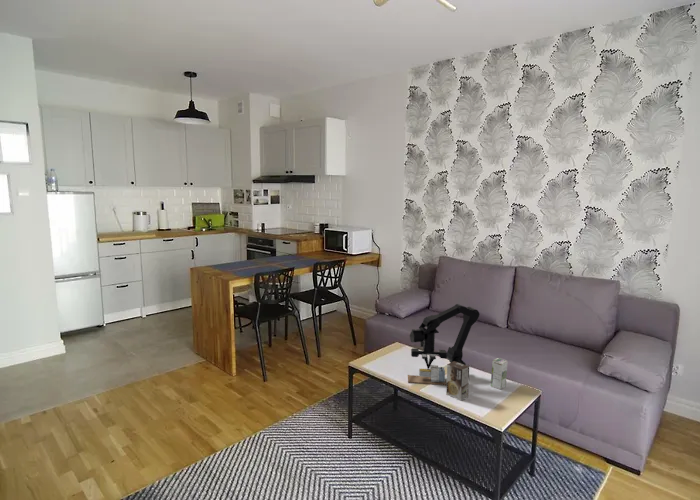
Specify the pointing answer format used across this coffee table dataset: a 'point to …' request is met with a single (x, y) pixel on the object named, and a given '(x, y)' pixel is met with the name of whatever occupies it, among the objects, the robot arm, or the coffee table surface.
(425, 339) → the robot arm
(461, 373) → the coffee box
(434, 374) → the grey slotted block
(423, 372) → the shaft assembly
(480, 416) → the coffee table surface
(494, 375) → the syrup box
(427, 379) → the board
